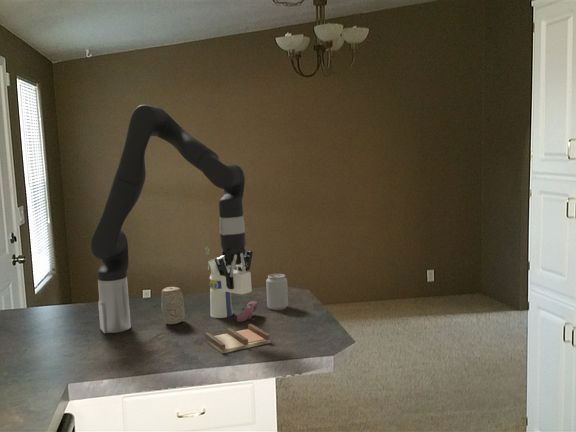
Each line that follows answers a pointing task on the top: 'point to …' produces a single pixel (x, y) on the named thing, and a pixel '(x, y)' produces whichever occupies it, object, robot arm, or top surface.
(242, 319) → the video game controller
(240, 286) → the plug block
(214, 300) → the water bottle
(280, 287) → the can
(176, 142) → the robot arm
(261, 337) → the slot rack
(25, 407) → the top surface
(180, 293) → the carving
